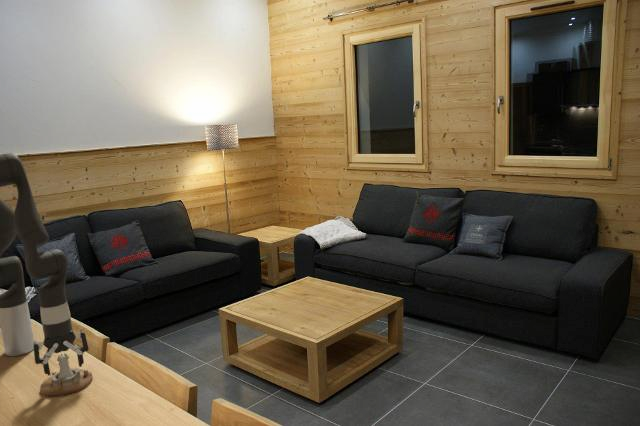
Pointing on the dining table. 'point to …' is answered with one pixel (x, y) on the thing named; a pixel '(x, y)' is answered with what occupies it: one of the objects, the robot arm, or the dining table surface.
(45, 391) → the carrier disc
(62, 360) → the rook chess piece
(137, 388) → the dining table surface
